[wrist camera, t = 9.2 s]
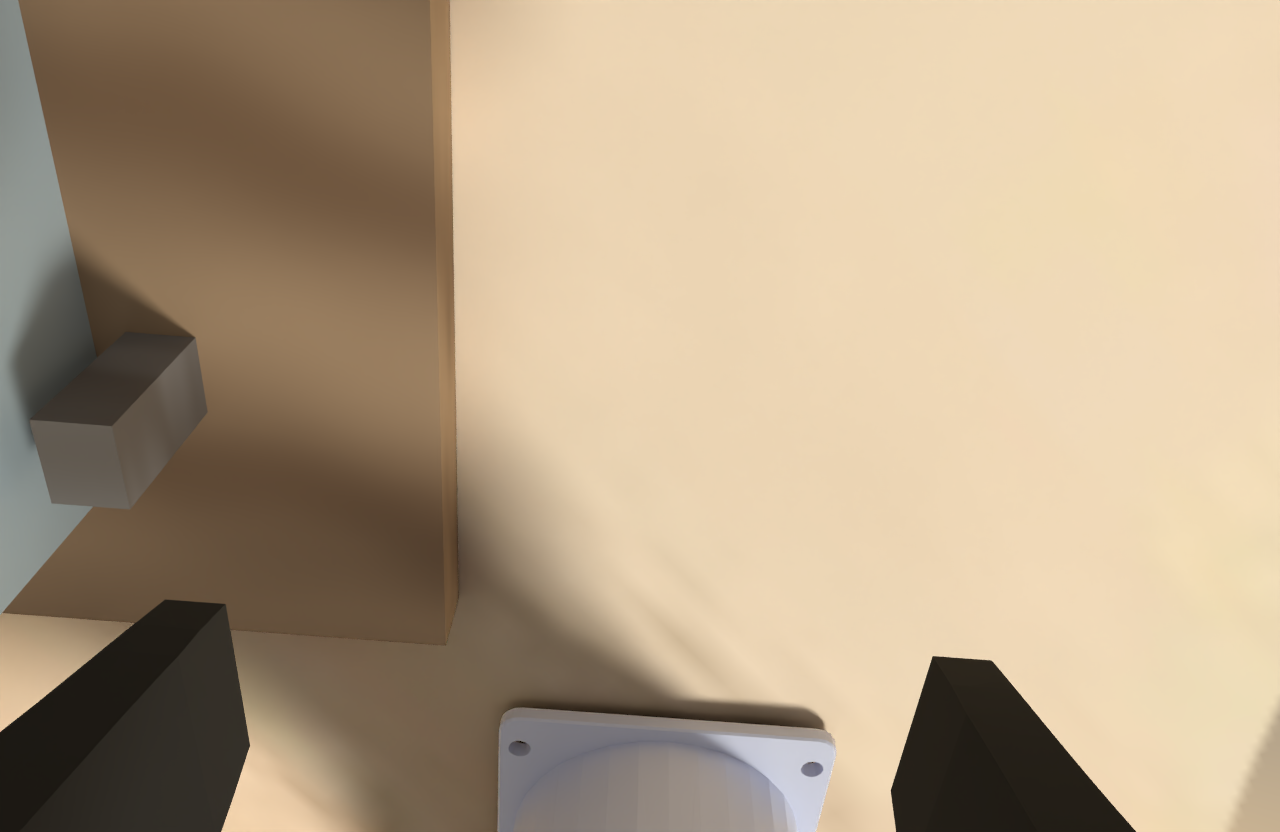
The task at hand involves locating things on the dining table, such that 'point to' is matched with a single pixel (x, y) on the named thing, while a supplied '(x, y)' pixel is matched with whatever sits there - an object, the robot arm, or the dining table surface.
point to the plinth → (255, 313)
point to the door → (31, 315)
